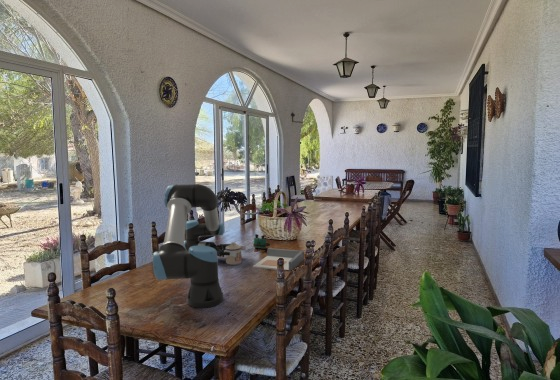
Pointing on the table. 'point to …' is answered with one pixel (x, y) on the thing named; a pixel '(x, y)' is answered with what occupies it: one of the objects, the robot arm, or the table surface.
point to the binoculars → (260, 243)
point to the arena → (289, 256)
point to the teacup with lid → (234, 259)
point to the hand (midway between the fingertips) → (240, 250)
